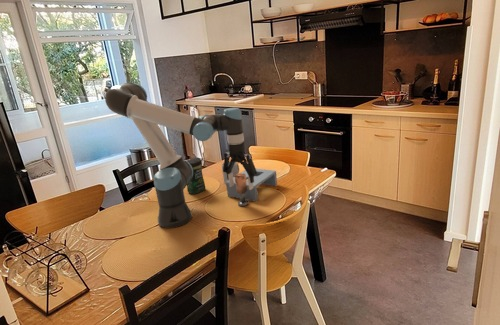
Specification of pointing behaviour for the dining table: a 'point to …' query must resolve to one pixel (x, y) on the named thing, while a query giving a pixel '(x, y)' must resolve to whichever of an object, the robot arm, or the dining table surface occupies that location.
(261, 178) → the platform
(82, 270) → the dining table surface
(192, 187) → the coffee jar
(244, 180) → the peg
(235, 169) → the mug
